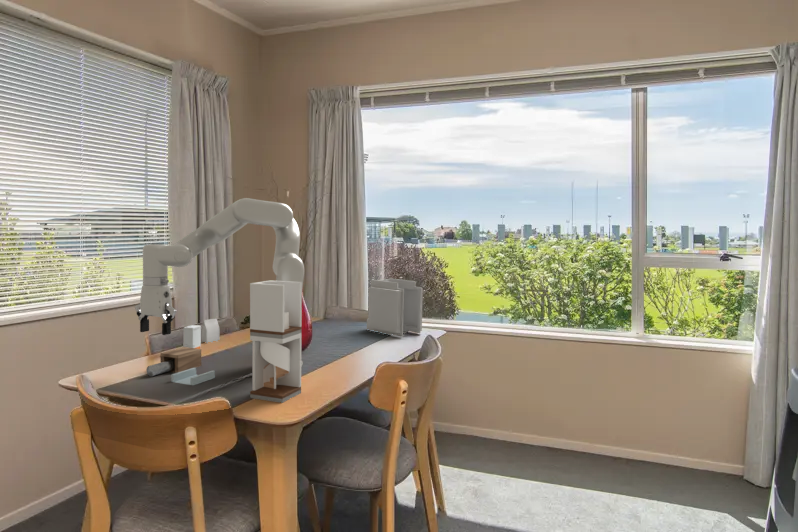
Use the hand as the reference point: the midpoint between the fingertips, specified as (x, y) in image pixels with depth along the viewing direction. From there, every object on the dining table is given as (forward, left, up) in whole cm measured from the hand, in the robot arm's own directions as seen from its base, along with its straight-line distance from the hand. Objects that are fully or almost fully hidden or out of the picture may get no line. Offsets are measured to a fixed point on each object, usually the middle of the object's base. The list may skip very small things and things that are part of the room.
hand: (155, 332), depth 185 cm
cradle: (-15, -2, -16) cm, 22 cm away
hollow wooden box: (0, -11, -16) cm, 19 cm away
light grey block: (+26, -56, -16) cm, 64 cm away
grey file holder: (-38, -113, -16) cm, 120 cm away
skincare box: (+13, -31, -16) cm, 37 cm away
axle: (0, -7, -14) cm, 16 cm away
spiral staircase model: (-46, -4, -16) cm, 49 cm away
